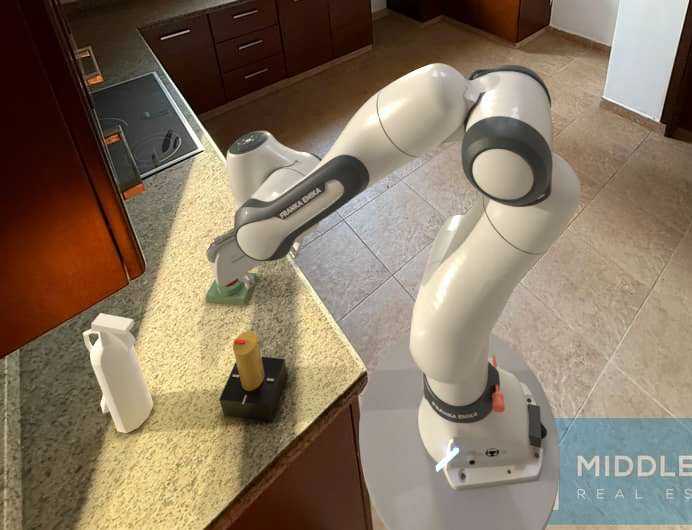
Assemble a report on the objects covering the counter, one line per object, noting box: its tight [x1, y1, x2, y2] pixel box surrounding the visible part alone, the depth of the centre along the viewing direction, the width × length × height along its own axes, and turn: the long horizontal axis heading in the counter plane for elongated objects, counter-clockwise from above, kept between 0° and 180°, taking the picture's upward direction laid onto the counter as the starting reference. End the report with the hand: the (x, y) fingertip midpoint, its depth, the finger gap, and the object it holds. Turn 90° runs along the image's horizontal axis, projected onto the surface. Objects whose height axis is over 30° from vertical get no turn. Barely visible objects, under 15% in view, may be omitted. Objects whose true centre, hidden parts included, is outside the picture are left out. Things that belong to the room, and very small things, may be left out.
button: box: [226, 278, 238, 286], centre depth 107 cm, size 4×4×2 cm
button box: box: [205, 271, 258, 307], centre depth 108 cm, size 10×7×4 cm
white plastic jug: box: [82, 312, 154, 434], centre depth 81 cm, size 7×12×25 cm, turn 80°
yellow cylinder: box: [232, 330, 265, 391], centre depth 83 cm, size 4×4×10 cm
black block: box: [218, 353, 289, 423], centre depth 86 cm, size 10×9×5 cm
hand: (273, 269), depth 83 cm, fingers open, 8 cm apart
